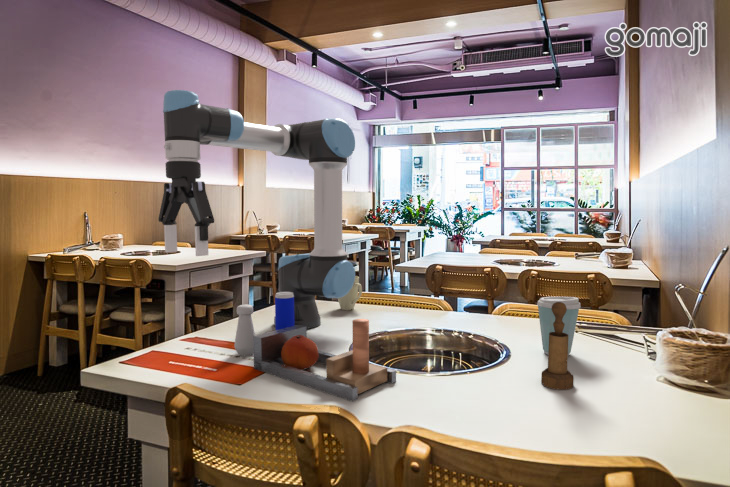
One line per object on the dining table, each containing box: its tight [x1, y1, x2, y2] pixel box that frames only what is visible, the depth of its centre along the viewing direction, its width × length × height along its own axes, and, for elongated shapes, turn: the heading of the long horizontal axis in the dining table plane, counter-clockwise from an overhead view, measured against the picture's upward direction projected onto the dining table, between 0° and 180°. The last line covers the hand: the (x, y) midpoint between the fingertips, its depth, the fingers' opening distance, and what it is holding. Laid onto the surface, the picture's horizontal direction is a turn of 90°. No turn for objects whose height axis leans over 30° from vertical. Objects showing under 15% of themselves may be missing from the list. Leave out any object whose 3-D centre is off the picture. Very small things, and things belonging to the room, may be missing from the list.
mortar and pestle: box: [540, 302, 574, 391], centre depth 109 cm, size 7×6×18 cm
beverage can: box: [274, 291, 294, 330], centre depth 139 cm, size 5×5×15 cm
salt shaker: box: [233, 303, 256, 357], centre depth 132 cm, size 6×6×13 cm
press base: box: [253, 325, 397, 402], centre depth 116 cm, size 14×32×8 cm, turn 50°
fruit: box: [281, 335, 319, 371], centre depth 121 cm, size 9×9×8 cm
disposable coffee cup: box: [536, 296, 582, 357], centre depth 132 cm, size 11×11×15 cm
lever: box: [326, 318, 388, 394], centre depth 109 cm, size 11×8×14 cm
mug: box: [337, 275, 363, 311], centre depth 189 cm, size 11×10×12 cm
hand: (186, 254), depth 117 cm, fingers open, 13 cm apart
